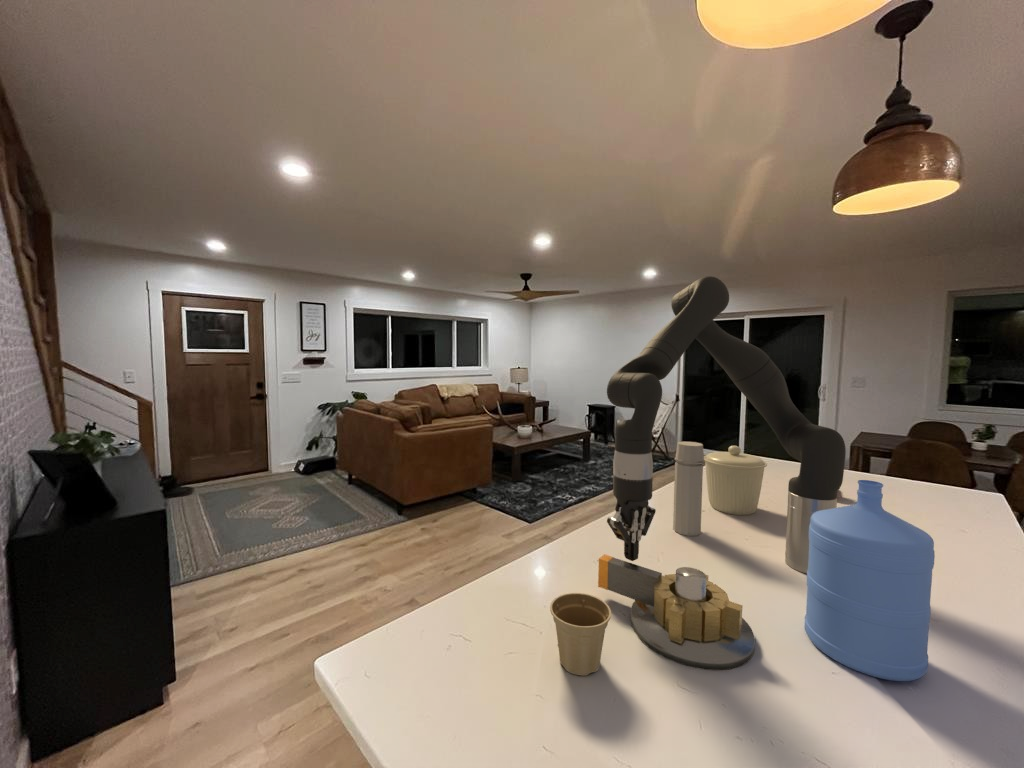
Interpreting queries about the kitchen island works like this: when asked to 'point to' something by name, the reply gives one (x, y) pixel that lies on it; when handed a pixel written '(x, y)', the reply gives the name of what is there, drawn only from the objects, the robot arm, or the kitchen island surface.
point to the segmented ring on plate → (673, 602)
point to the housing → (691, 651)
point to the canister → (734, 481)
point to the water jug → (870, 588)
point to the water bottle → (688, 488)
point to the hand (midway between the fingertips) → (631, 558)
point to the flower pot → (580, 630)
